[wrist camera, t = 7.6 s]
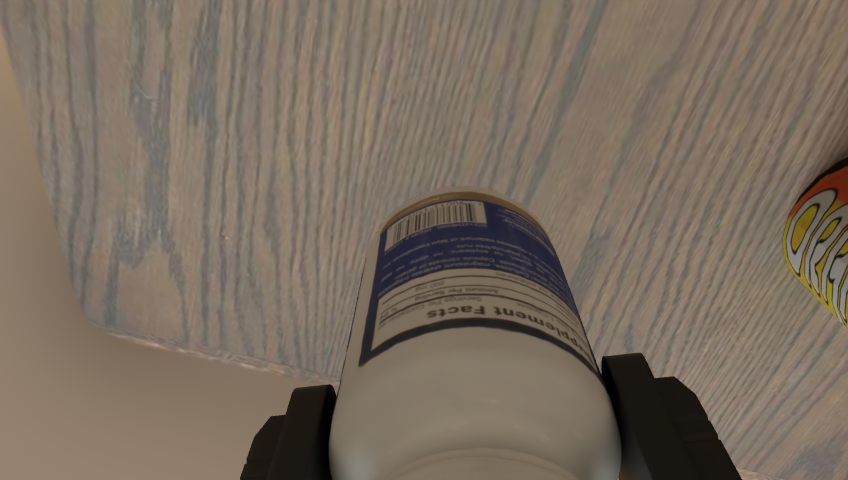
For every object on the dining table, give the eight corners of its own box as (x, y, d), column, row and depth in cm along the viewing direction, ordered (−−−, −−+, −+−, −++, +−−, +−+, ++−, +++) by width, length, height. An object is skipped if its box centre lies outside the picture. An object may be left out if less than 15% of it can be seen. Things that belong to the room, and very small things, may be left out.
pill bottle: (496, 365, 19) (548, 745, 10) (338, 301, 18) (245, 666, 9) (592, 228, 16) (766, 573, 8) (415, 146, 15) (391, 439, 7)
